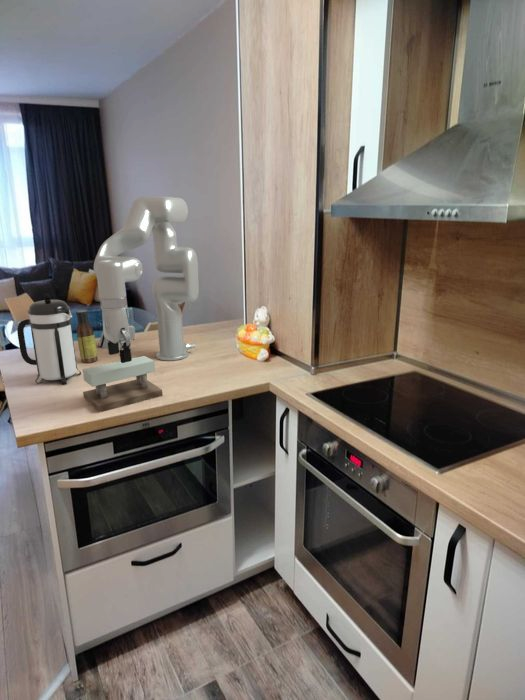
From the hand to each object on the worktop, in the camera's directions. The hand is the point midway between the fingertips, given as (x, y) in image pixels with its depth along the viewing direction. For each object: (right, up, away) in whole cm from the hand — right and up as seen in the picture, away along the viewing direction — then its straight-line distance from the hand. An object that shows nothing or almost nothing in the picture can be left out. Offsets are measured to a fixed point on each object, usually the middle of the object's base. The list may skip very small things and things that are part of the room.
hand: (120, 357), depth 143 cm
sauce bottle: (-24, -2, +38) cm, 45 cm away
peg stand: (0, -12, +3) cm, 13 cm away
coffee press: (-28, -8, +19) cm, 35 cm away
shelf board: (0, -6, +1) cm, 6 cm away
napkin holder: (-20, +5, +62) cm, 65 cm away
